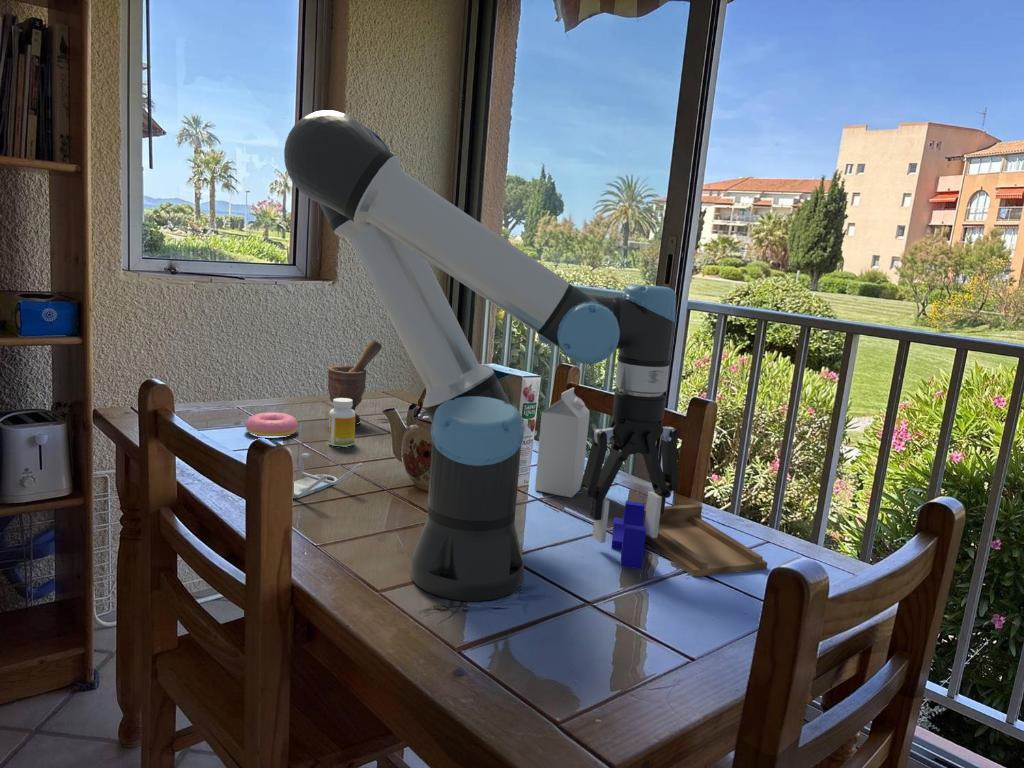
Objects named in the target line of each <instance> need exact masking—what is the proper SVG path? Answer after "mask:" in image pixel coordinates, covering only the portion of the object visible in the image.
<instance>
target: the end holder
mask: <svg viewBox="0 0 1024 768" xmlns="http://www.w3.org/2000/svg"><path fill="white" fill-rule="evenodd" d="M646 508H647V507H645V510H644V520H643V527H644V526H645V517H646ZM702 510H703V506H701V504H698V503H697V504H696V503H694V504H680V505H667V506H666V505H665V509H664V513H663V515H660V519H659V527H658V536H657V538H652V537H651V536H650V535H648V534H647V533H646V535H645V542H646V543H647V544H649V545H650V546H651V547H653V548H654V549H655V550H657V551H658V552H659V553H660V554H662V555H663V556H665V557H666V558H667V559H669V560H670V561H672V563H674V564H675V565H676V566H678V567H679V568H680V569H682V570H683V571H685V572H687V574H689V576H691V577H694V578H695V577H704V576H713V575H714V576H715V575H721V574H722V575H723V574H731V573H740V572H742V573H743V572H749V571H759V570H767V567H768V562H767V561H765V560H764V559H763V556H762V555H760V554H759V553H757V552H756V551H754V550H753V549H750V547H748V546H746V545H745V544H743V543H742V542H739V541H738V540H736V539H734V538H733V537H732V536H730V535H728V534H727V533H725V532H723V531H722V530H720V529H719V528H717V527H715V526H714V525H712V524H711V523H710V522H707V521H705V520H704V519H703V518H702V512H703V511H702Z"/></svg>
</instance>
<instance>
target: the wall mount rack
mask: <svg viewBox="0 0 1024 768" xmlns="http://www.w3.org/2000/svg"><path fill="white" fill-rule="evenodd" d="M310 456H311V454H309V453H306V452H305V453H302V454H301V455H300V456H299V470H300V474H301V476H303V478H301V479H298V480H297V479H296V480H294V481H293V482H294V499H297V500H298V499H301V498H303V497H306V496H308V495H311V494H314V493H317V492H319V491H322V490H324V489H328V488H329V487H330V486H333V485H336V484H339V483H340V482H342V481H343V480H344V479H346V478H347V477H349V476H350V475H351V474H353V473H354V472H357V471H358V470H360V469H361V468H363V464H362V463H361V462H360V463H358V464H357V465H355V466H354V467H353V468H352V469H351V470H349V471H347V472H346V473H345V474H343V475H342V476H341V477H338V478H337V477H336V476H334V475H329V474H315V475H313V474H310V473H307V472H305V471H304V458H306V459H307V458H311V457H310ZM304 476H305V477H304ZM329 479H331V480H329ZM327 487H328V488H327Z"/></svg>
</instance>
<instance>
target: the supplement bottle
mask: <svg viewBox="0 0 1024 768" xmlns="http://www.w3.org/2000/svg"><path fill="white" fill-rule="evenodd" d="M352 405H353V400H352V399H348V398H335V399H333V403H332V407H333V408H332V409H330V410H329V416H328V420H329V423H328V440H327V441H328V445H329V444H331V445H334V446H351V445H353V444H354V445H355V442H356V441H355V439H356V438H355V435H356V425H355V412H356V410H355V411H354V410H353V409H351V407H352ZM354 445H353V446H354ZM351 447H352V446H351Z"/></svg>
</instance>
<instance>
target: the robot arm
mask: <svg viewBox="0 0 1024 768" xmlns="http://www.w3.org/2000/svg"><path fill="white" fill-rule="evenodd" d="M283 149H284V150H283V155H284V158H283V159H284V166H285V169H286V171H287V175H288V177H289V178H290V180H291V181H292V184H293V185H294V186H295V187H296V188H297V189H298V191H300V193H302V195H304V196H305V197H307V198H309V199H310V200H312V201H314V202H317V203H318V204H319V206H320V208H321V210H322V212H323V214H324V216H325V218H326V220H327V221H328V223H329V225H330V227H331V229H332V231H333V234H335V235H336V236H338V237H341V238H344V239H345V240H348V241H350V242H351V245H352V247H353V249H354V251H355V252H356V254H357V256H358V258H359V260H360V262H361V265H362V266H363V268H364V270H365V272H366V274H367V275H368V277H369V280H370V281H371V284H372V286H373V287H374V289H375V291H376V294H377V295H378V297H379V299H380V301H381V303H382V305H383V307H384V309H385V311H386V312H387V315H388V317H389V319H390V321H391V323H392V324H393V327H394V329H395V331H396V333H397V335H398V336H399V338H400V340H401V343H402V344H403V347H404V348H405V351H406V353H407V354H408V356H409V358H410V360H411V362H412V364H413V366H414V368H415V370H416V372H417V374H418V376H419V378H420V380H421V382H422V384H423V386H424V387H425V393H426V394H425V396H424V399H423V403H422V406H423V408H424V411H425V412H426V414H427V417H428V418H429V420H430V422H431V427H430V436H431V453H430V454H431V455H430V470H429V485H428V499H427V501H428V502H427V516H426V521H425V523H424V526H423V527H422V530H421V533H420V536H419V537H418V541H417V543H416V546H415V548H414V550H413V553H412V556H411V561H410V576H411V577H410V578H411V579H412V581H413V582H414V584H415V585H416V586H418V587H419V588H420V589H422V590H423V591H425V592H427V593H429V594H432V595H434V596H437V597H440V598H443V599H448V600H456V601H465V602H466V601H467V602H480V601H481V602H482V601H489V600H495V599H496V600H497V599H499V598H504V597H506V596H508V595H511V594H512V593H514V592H515V591H517V590H518V589H519V588H520V587H521V585H522V584H523V580H524V570H525V563H524V562H525V561H524V558H523V553H522V549H521V546H520V541H519V538H518V533H517V529H516V525H515V524H516V523H515V522H516V510H517V499H518V498H517V497H518V487H519V486H518V484H519V477H520V476H519V475H520V464H521V463H520V462H521V452H522V450H521V449H522V443H523V441H524V426H523V417H522V415H521V412H520V411H519V410H518V408H517V407H516V405H515V404H514V402H513V401H511V398H510V397H509V396H508V395H506V393H505V391H504V389H503V386H502V385H501V382H500V381H499V379H498V377H497V375H496V373H495V371H494V370H493V368H490V367H489V366H488V367H487V366H485V365H482V364H480V363H479V362H478V359H477V357H476V355H475V353H474V351H473V350H472V347H471V345H470V343H469V341H468V339H467V337H466V335H465V333H464V330H463V329H462V327H461V325H460V323H459V321H458V319H457V317H456V314H455V313H454V311H453V309H452V307H451V304H450V303H449V300H448V299H447V297H446V294H445V292H444V291H443V289H442V287H441V285H440V282H439V281H438V279H437V277H436V275H435V272H434V271H433V269H432V267H431V264H432V265H434V266H435V267H436V268H438V269H439V270H442V271H443V273H446V274H447V275H449V276H451V277H452V278H453V279H455V280H456V281H458V282H460V283H461V284H462V285H464V287H465V286H466V287H467V288H468V289H470V290H472V291H473V292H475V293H476V294H478V295H479V296H481V297H482V298H484V299H485V300H486V301H488V302H489V303H491V304H493V305H494V306H496V307H497V308H499V309H500V310H502V311H504V312H505V313H506V314H508V315H510V316H511V317H512V318H514V319H516V320H517V321H519V323H522V324H523V325H525V326H527V327H528V328H530V329H531V330H532V331H534V332H536V334H538V340H539V342H540V343H541V344H543V345H550V346H551V345H552V346H555V347H557V348H559V349H561V351H562V353H564V355H565V356H566V357H568V358H569V359H571V360H573V361H574V362H575V363H576V362H577V363H579V364H583V365H595V364H598V363H601V362H603V361H605V360H607V359H608V358H609V357H610V356H611V355H612V354H613V353H614V352H615V351H616V350H618V355H617V365H616V372H615V373H616V374H615V382H614V385H615V387H616V388H617V389H616V390H615V391H614V397H613V405H612V418H613V419H612V422H611V423H610V425H609V427H606V428H602V429H601V428H600V429H599V428H598V427H593V428H592V430H591V446H590V447H591V448H590V451H589V454H588V458H587V462H586V465H585V467H584V474H583V479H582V483H581V487H580V490H579V491H581V492H582V493H583V494H585V496H588V497H589V498H591V501H590V508H589V509H590V511H589V515H590V517H591V518H592V519H593V525H592V527H593V528H592V537H593V538H595V539H596V540H597V541H598V542H599V543H601V544H602V543H603V544H604V543H606V539H607V528H608V520H609V510H610V500H609V499H608V498H606V496H607V495H608V493H609V491H610V489H611V487H612V485H613V484H614V481H615V479H616V477H617V475H618V473H619V471H620V470H621V467H622V466H623V463H624V462H625V461H626V460H628V458H629V456H630V455H635V454H641V455H642V456H643V462H644V463H645V466H646V467H645V468H646V470H647V473H648V476H649V478H650V482H651V486H652V489H653V491H652V490H651V491H647V499H646V507H645V508H646V517H645V526H644V527H646V533H647V534H648V535H650V536H651V537H652V538H657V536H658V527H659V519H660V515H663V513H664V509H665V506H666V500H667V499H668V498H670V497H671V496H672V492H677V491H678V490H679V486H680V484H679V482H680V481H679V468H678V467H679V465H678V463H679V462H678V448H677V447H678V445H677V444H678V441H679V436H680V430H678V429H677V428H674V427H673V426H671V425H665V426H663V422H662V420H663V419H664V418H665V410H666V404H667V403H666V401H667V398H666V396H665V394H664V393H666V392H667V390H668V382H669V373H670V372H669V371H670V364H671V363H670V361H671V356H672V355H671V354H672V348H673V347H672V345H673V340H674V339H673V338H674V329H675V323H676V309H677V294H676V292H675V290H674V289H672V288H671V287H668V286H660V285H650V284H649V285H647V284H636V283H635V284H627V285H626V286H625V288H624V292H623V294H622V296H617V297H615V296H613V297H611V296H610V297H608V296H597V295H590V294H588V295H587V294H586V293H585V292H584V291H582V290H580V289H579V288H577V287H576V286H574V285H572V284H571V283H570V282H568V281H567V280H565V279H564V278H563V277H561V276H560V275H558V274H557V273H555V272H554V271H552V269H551V270H550V269H549V268H547V267H546V266H545V265H543V264H542V263H540V262H539V261H537V260H536V259H535V258H533V257H531V256H530V255H529V254H527V253H526V252H524V251H523V250H521V249H520V248H518V247H516V245H514V244H512V243H511V242H509V241H508V240H506V239H505V238H504V237H501V236H500V235H499V234H497V233H496V232H495V231H493V230H491V229H490V228H489V227H487V226H486V225H484V224H482V223H481V222H480V221H479V220H477V219H475V218H473V216H471V215H469V214H468V213H466V212H465V211H463V210H462V209H460V208H459V207H458V206H456V205H455V204H453V203H451V202H450V201H449V200H448V199H446V198H444V197H443V196H441V195H440V194H439V193H436V192H435V191H434V190H432V189H430V188H429V187H428V186H426V185H425V184H423V183H422V182H420V181H419V180H417V179H416V178H414V177H413V176H411V175H410V174H409V173H407V172H406V171H404V170H403V169H402V166H401V162H400V158H399V157H398V156H397V155H395V154H394V153H392V152H391V150H390V148H389V147H388V145H387V144H386V142H385V141H384V140H382V138H381V137H380V135H378V134H377V133H376V132H374V131H373V130H371V129H370V128H368V127H366V126H364V125H363V124H362V123H361V122H360V121H358V119H355V118H354V117H352V116H350V115H348V114H347V113H345V112H340V111H337V110H326V109H325V110H317V111H314V112H312V113H309V114H307V115H305V116H304V117H302V118H301V119H300V120H298V121H297V122H296V123H295V124H294V125H293V127H292V129H290V132H289V133H288V135H287V137H286V140H285V144H284V148H283ZM430 263H431V264H430ZM611 437H612V439H613V442H612V444H611V445H610V447H609V451H608V452H609V453H608V455H607V458H606V460H605V457H606V454H607V450H608V444H610V442H611V440H610V439H611ZM659 438H660V447H661V462H660V458H659V456H660V455H659V454H660V453H659V450H658V448H657V444H656V443H657V441H658V440H659ZM661 463H662V465H661ZM666 498H667V499H666Z"/></svg>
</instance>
